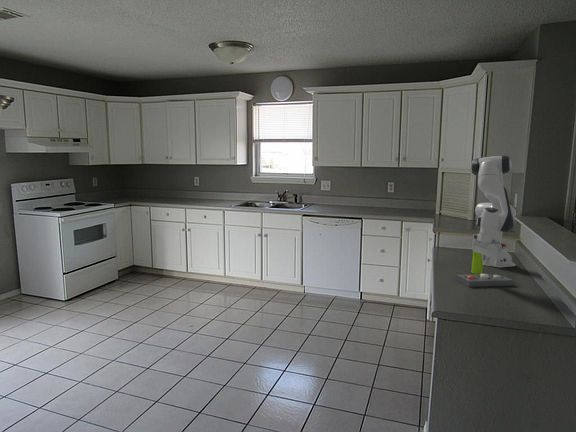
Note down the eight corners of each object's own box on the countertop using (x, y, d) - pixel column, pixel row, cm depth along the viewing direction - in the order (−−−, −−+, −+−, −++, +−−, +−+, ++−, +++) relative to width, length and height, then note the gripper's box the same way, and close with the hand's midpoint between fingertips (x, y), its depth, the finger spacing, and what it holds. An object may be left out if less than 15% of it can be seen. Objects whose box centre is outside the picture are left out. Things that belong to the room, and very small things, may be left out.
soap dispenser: (485, 274, 239) (488, 241, 236) (472, 273, 240) (475, 240, 237) (482, 272, 245) (485, 239, 242) (470, 271, 246) (473, 238, 243)
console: (497, 278, 232) (497, 273, 231) (512, 285, 220) (513, 280, 219) (455, 280, 227) (456, 274, 226) (468, 286, 215) (469, 281, 215)
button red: (471, 280, 224) (472, 275, 224) (476, 283, 220) (476, 277, 220) (464, 281, 223) (465, 275, 223) (469, 283, 219) (469, 277, 219)
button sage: (497, 280, 227) (498, 274, 227) (502, 282, 223) (503, 277, 223) (491, 280, 226) (491, 275, 226) (496, 282, 222) (496, 277, 222)
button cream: (484, 278, 225) (485, 273, 225) (489, 281, 222) (490, 275, 221) (478, 279, 225) (478, 273, 224) (483, 281, 221) (483, 275, 220)
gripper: (506, 242, 210) (503, 268, 212) (481, 234, 230) (478, 258, 232) (495, 242, 209) (493, 268, 211) (471, 234, 229) (468, 258, 231)
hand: (485, 263), depth 222 cm, fingers closed
